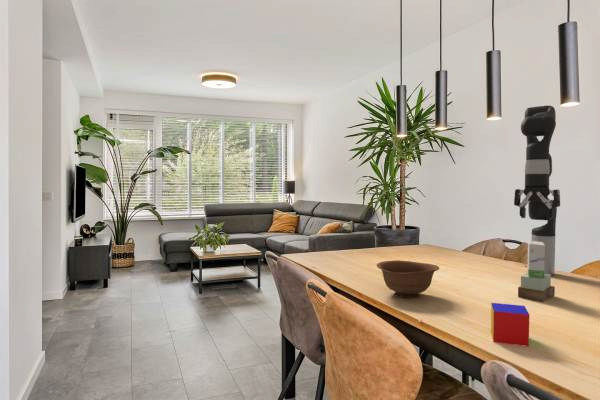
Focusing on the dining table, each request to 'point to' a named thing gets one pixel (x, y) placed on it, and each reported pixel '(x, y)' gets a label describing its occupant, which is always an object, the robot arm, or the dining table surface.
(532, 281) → the sage block
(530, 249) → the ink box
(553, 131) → the robot arm
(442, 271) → the dining table surface
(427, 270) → the bowl
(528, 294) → the walnut slab
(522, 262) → the dining table surface
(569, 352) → the dining table surface
